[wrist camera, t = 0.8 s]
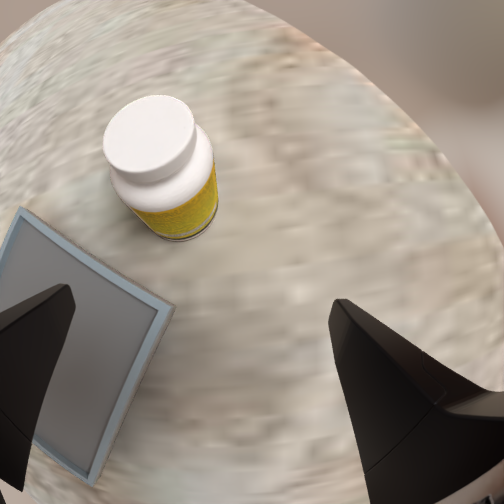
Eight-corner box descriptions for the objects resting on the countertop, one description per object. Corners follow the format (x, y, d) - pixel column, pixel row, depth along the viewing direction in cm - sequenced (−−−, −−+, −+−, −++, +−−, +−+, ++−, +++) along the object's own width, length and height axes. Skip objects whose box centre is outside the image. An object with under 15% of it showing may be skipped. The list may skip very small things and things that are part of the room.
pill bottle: (234, 198, 23) (238, 115, 12) (186, 258, 22) (147, 216, 11) (177, 160, 23) (149, 70, 12) (131, 214, 22) (67, 150, 11)
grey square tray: (109, 464, 17) (92, 487, 13) (-5, 369, 18) (-30, 375, 13) (182, 305, 21) (171, 306, 17) (46, 219, 21) (19, 205, 17)
